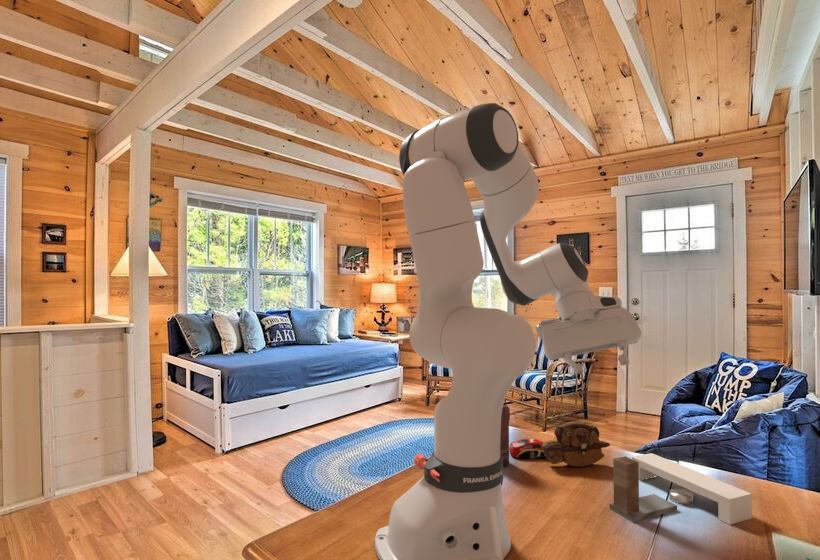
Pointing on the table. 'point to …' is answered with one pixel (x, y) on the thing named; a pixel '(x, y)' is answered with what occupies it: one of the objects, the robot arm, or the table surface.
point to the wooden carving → (575, 445)
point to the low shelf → (700, 486)
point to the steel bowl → (681, 496)
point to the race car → (527, 449)
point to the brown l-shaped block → (634, 493)
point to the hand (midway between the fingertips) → (602, 368)
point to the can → (505, 434)
